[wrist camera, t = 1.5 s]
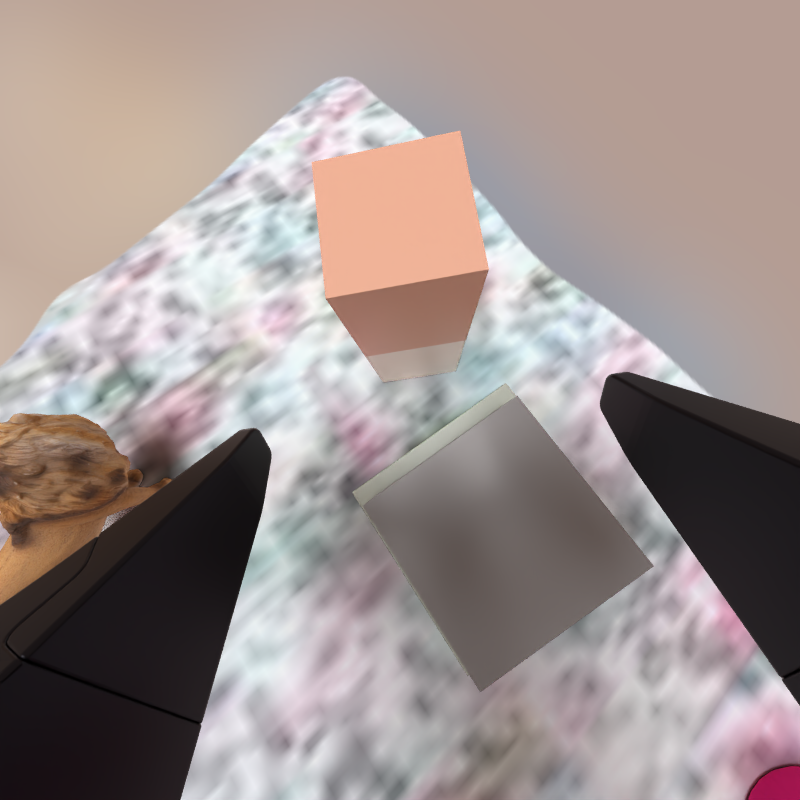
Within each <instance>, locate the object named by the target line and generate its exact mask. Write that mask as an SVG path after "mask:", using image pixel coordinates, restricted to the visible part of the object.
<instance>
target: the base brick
mask: <svg viewBox="0 0 800 800" xmlns="http://www.w3.org/2000/svg"><path fill="white" fill-rule="evenodd" d="M352 493H353V495H354V496H355V498H356V499H357V501H358V503H359V504H360V506H361V507H362V509H363V510H364V512H365V514H366V515H367V517H368V518H369V520H370V522H371V523H372V525H373V526H374V528H375V530H376V531H377V533H378V534H379V536H380V537H381V539H382V541H383V542H384V544H385V545H386V547H387V549H388V550H389V552H390V553H391V555H392V557H393V558H394V560H395V561H396V563H397V564H398V566H399V568H400V569H401V571H402V572H403V574H404V576H405V577H406V579H407V580H408V582H409V584H410V585H411V587H412V588H413V590H414V591H415V593H416V595H417V596H418V598H419V599H420V601H421V603H422V604H423V606H424V607H425V609H426V611H427V612H428V614H429V615H430V617H431V618H432V620H433V622H434V623H435V625H436V626H437V628H438V630H439V631H440V633H441V634H442V636H443V638H444V639H445V641H446V642H447V644H448V645H449V647H450V649H451V650H452V652H453V653H454V655H455V657H456V658H457V660H458V661H459V663H460V665H461V666H462V668H463V669H464V671H465V672H466V674H467V676H468V675H470V676H471V678H472V680H473V681H474V683H475V684H476V686H477V688H478V689H479V691H480V692H481V691H483V690H484V689H485V688H487V687H488V686H490V685H491V684H492V683H494V682H495V681H496V680H498V679H499V678H501V677H502V676H503V675H505V674H506V673H507V672H509V671H510V670H512V669H513V668H514V667H516V666H517V665H518V664H520V663H521V662H523V661H524V660H525V659H527V658H528V657H529V656H531V655H532V654H534V653H535V652H536V651H538V650H539V649H540V648H542V647H543V646H545V645H546V644H547V643H549V642H550V641H551V640H553V639H554V638H556V637H557V636H558V635H560V634H561V633H562V632H564V631H565V630H567V629H568V628H569V627H571V626H572V625H573V624H575V623H576V622H578V621H579V620H580V619H582V618H583V617H584V616H586V615H587V614H589V613H590V612H591V611H593V610H594V609H595V608H597V607H598V606H600V605H601V604H602V603H604V602H605V601H606V600H608V599H609V598H611V597H612V596H613V595H615V594H616V593H618V592H619V591H620V590H622V589H623V588H624V587H626V586H627V585H629V584H630V583H631V582H633V581H634V580H635V579H637V578H638V577H640V576H641V575H642V574H644V573H645V572H646V571H648V570H649V569H651V568H652V567H653V565H652V563H651V562H650V561H649V560H648V558H647V557H646V556H645V555H644V553H643V552H642V551H641V550H640V548H639V547H638V546H637V545H636V543H635V542H634V541H633V540H632V538H631V537H630V536H629V535H628V533H627V532H626V531H625V530H624V528H623V527H622V526H621V525H620V523H619V522H618V521H617V520H616V519H615V517H614V516H613V515H612V514H611V512H610V511H609V510H608V509H607V507H606V506H605V505H604V504H603V502H602V501H601V500H600V499H599V497H598V496H597V495H596V494H595V492H594V491H593V490H592V489H591V487H590V486H589V485H588V484H587V482H586V481H585V480H584V479H583V477H582V476H581V475H580V474H579V472H578V471H577V470H576V469H575V467H574V466H573V465H572V464H571V462H570V461H569V460H568V459H567V457H566V456H565V455H564V454H563V452H562V451H561V450H560V449H559V447H558V446H557V445H556V444H555V442H554V441H553V440H552V439H551V437H550V436H549V435H548V434H547V432H546V431H545V430H544V429H543V427H542V426H541V425H540V424H539V422H538V421H537V420H536V419H535V417H534V416H533V415H532V414H531V412H530V411H529V410H528V409H527V407H526V406H525V405H524V404H523V403H522V401H521V400H520V399H519V398H518V396H516V395H515V394H514V393H513V391H512V390H511V389H510V388H509V386H508V385H507V384H506V383H505V384H504V385H503V386H501V387H500V388H498V389H497V390H496V391H494V392H493V393H491V394H490V395H489V396H487V397H486V398H484V399H483V400H482V401H480V402H479V403H477V404H476V405H474V406H473V407H472V408H470V409H469V410H467V411H466V412H465V413H463V414H462V415H460V416H459V417H458V418H456V419H455V420H453V421H452V422H451V423H449V424H448V425H446V426H445V427H443V428H442V429H441V430H439V431H438V432H436V433H435V434H434V435H432V436H431V437H429V438H428V439H427V440H425V441H424V442H422V443H421V444H420V445H418V446H417V447H415V448H414V449H412V450H411V451H410V452H408V453H407V454H405V455H404V456H403V457H401V458H400V459H398V460H397V461H396V462H394V463H393V464H391V465H390V466H388V467H387V468H386V469H384V470H383V471H381V472H380V473H379V474H377V475H376V476H374V477H373V478H372V479H370V480H369V481H367V482H366V483H365V484H363V485H362V486H360V487H359V488H357V489H356V490H355V491H353V492H352Z"/></svg>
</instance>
